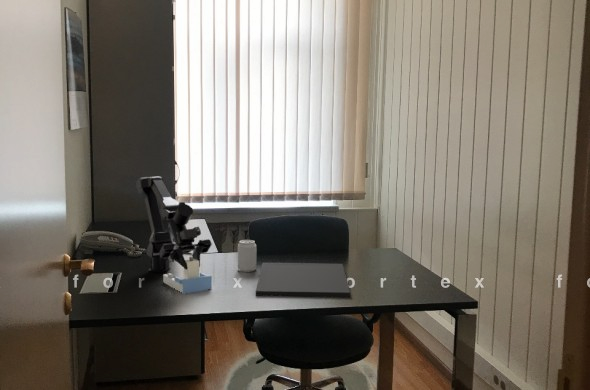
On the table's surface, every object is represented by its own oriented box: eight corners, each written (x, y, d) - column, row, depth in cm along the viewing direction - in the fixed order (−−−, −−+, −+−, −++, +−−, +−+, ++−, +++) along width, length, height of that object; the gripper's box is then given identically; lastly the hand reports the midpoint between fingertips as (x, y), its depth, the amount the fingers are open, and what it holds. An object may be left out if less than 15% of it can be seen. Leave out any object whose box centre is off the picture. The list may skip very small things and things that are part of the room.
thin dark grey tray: (342, 269, 259) (262, 268, 259) (342, 263, 259) (262, 262, 259) (349, 299, 219) (255, 297, 219) (350, 292, 219) (255, 291, 219)
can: (253, 273, 249) (253, 243, 248) (235, 271, 251) (235, 242, 249) (258, 268, 256) (258, 239, 255) (240, 267, 258) (240, 238, 256)
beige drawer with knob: (183, 284, 228) (183, 257, 226) (195, 282, 230) (194, 255, 229) (187, 287, 225) (187, 259, 223) (199, 285, 227) (199, 257, 226)
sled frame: (163, 282, 235) (163, 269, 234) (190, 278, 241) (190, 265, 240) (183, 294, 220) (183, 280, 220) (211, 289, 227) (211, 275, 226)
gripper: (161, 222, 222) (175, 259, 215) (209, 217, 233) (223, 252, 225) (153, 239, 230) (166, 276, 222) (200, 234, 240) (213, 269, 233)
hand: (193, 268), depth 225 cm, fingers closed on beige drawer with knob, 4 cm apart
